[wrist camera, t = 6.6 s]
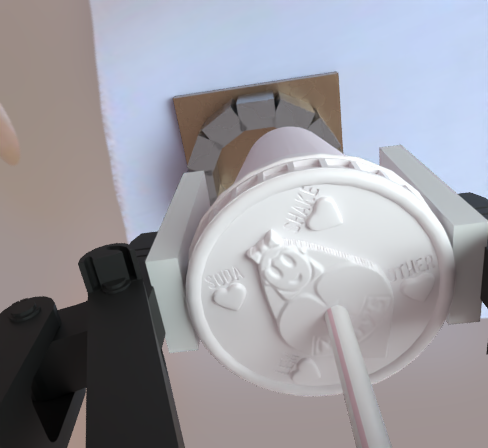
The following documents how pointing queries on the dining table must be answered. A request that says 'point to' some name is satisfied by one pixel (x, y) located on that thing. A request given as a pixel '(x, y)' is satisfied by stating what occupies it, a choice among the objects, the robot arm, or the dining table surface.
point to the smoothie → (319, 275)
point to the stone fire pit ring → (253, 122)
